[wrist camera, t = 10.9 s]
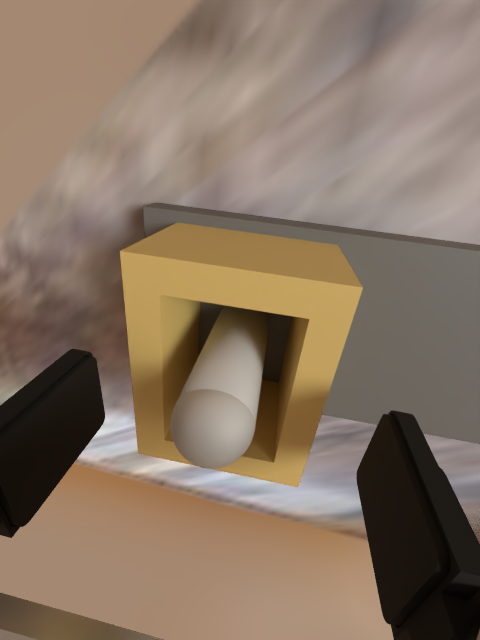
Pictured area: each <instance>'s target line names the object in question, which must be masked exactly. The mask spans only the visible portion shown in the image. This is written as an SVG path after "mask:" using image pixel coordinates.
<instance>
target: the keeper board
mask: <svg viewBox="0 0 480 640" xmlns="http://www.w3.org/2000/svg"><path fill="white" fill-rule="evenodd" d="M143 214H144V233H145V238H147V237H149V236H151V235H153V234H155V233H157V232H159V231H161V230H163V229H165V228H167V227H169V226H171V225H173V224H175V223H177V222H178V223H185V224H192V225H199V226H207V227H214V228H221V229H228V230H235V231H242V232H249V233H257V234H264V235H271V236H278V237H285V238H292V239H300V240H307V241H314V242H321V243H328V244H335V245H338V246H339V248H340V250H341V251H342V253H343V255H344V256H345V258H346V260H347V261H348V263H349V265H350V266H351V268H352V270H353V271H354V273H355V275H356V277H357V278H358V280H359V282H360V283H361V285H362V287H363V290H362V293H361V296H360V299H359V302H358V305H357V308H356V311H355V314H354V317H353V320H352V323H351V326H350V329H349V333H348V336H347V339H346V342H345V345H344V348H343V351H342V354H341V357H340V360H339V363H338V366H337V369H336V372H335V375H334V378H333V382H332V385H331V388H330V391H329V394H328V397H327V400H326V403H325V406H324V409H323V412H322V415H328V416H333V417H338V418H344V419H349V420H354V421H360V422H365V423H370V424H376V425H378V424H379V421H380V419H381V417H382V415H383V414H388V413H389V412H390V411H391V410H394V411H399V412H404V413H409V414H412V415H414V417H415V418H416V420H417V422H418V424H419V426H420V429H421V431H422V433H424V434H429V435H435V436H440V437H445V438H451V439H456V440H461V441H467V442H472V443H477V444H480V245H475V244H467V243H459V242H452V241H444V240H437V239H429V238H421V237H414V236H406V235H399V234H391V233H383V232H376V231H368V230H361V229H353V228H345V227H338V226H330V225H322V224H315V223H307V222H300V221H292V220H284V219H277V218H269V217H262V216H254V215H246V214H239V213H231V212H224V211H216V210H208V209H201V208H193V207H186V206H178V205H170V204H163V203H154V204H150V205H147V206H143ZM292 318H293V316H288V315H281V314H275V313H269V312H263V311H257V310H251V309H244V308H238V307H232V306H226V305H220V304H214V303H207V302H200V324H199V347H198V359H197V361H196V363H195V365H194V367H193V369H192V371H191V374H190V376H189V378H188V380H187V382H186V384H185V386H184V388H183V390H182V392H181V394H180V396H179V398H178V400H177V402H176V405H175V407H174V409H173V412H172V417H171V434H172V438H173V441H174V444H175V446H176V448H177V449H178V451H179V452H180V454H181V455H182V456H183V457H184V458H185V459H186V460H188V461H189V462H191V463H192V464H194V465H197V466H199V467H203V468H209V469H215V468H221V467H225V466H227V465H229V464H231V463H233V462H235V461H236V460H238V459H239V458H240V457H241V456H242V455H243V454H244V453H245V452H246V450H247V449H248V447H249V445H250V443H251V441H252V439H253V436H254V431H255V425H256V418H257V410H258V403H259V396H260V388H261V381H262V380H267V381H272V382H278V383H279V379H280V374H281V369H282V365H283V360H284V355H285V351H286V346H287V341H288V337H289V332H290V327H291V323H292Z"/></svg>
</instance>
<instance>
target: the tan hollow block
mask: <svg viewBox="0 0 480 640" xmlns="http://www.w3.org/2000/svg"><path fill="white" fill-rule="evenodd" d="M120 258H121V269H122V280H123V291H124V302H125V313H126V324H127V335H128V346H129V357H130V368H131V379H132V390H133V401H134V412H135V423H136V434H137V445H138V453H139V454H143V455H148V456H153V457H158V458H162V459H167V460H172V461H176V462H181V463H186V464H191V465H194V464H192V463H191V462H189V461H188V460H186V459H185V458H184V457H183V456H182V455H181V454H180V452H179V451H178V449H177V448H176V446H175V444H174V441H173V438H172V434H171V417H172V412H173V409H174V407H175V405H176V402H177V400H178V398H179V396H180V394H181V392H182V390H183V388H184V386H185V384H186V382H187V380H188V378H189V376H190V374H191V371H192V369H193V367H194V365H195V363H196V361H197V359H198V347H199V324H200V302H207V303H214V304H220V305H226V306H232V307H238V308H244V309H251V310H257V311H263V312H269V313H275V314H281V315H288V316H293V318H292V323H291V327H290V332H289V337H288V341H287V346H286V351H285V355H284V360H283V365H282V369H281V374H280V379H279V383H278V382H272V381H267V380H262V381H261V388H260V396H259V403H258V410H257V418H256V425H255V431H254V436H253V439H252V441H251V443H250V445H249V447H248V449H247V450H246V452H245V453H244V454H243V455H242V456H241V457H240V458H239V459H238V460H236V461H235V462H233V463H231V464H229V465H227V466H225V467H221V468H215V469H214V470H219V471H224V472H229V473H233V474H238V475H243V476H248V477H252V478H257V479H262V480H267V481H271V482H276V483H281V484H285V485H290V486H295V487H298V486H299V483H300V480H301V477H302V474H303V470H304V467H305V464H306V461H307V458H308V455H309V452H310V449H311V446H312V443H313V440H314V437H315V434H316V431H317V428H318V424H319V421H320V418H321V415H322V412H323V409H324V406H325V403H326V400H327V397H328V394H329V391H330V388H331V385H332V382H333V378H334V375H335V372H336V369H337V366H338V363H339V360H340V357H341V354H342V351H343V348H344V345H345V342H346V339H347V336H348V333H349V329H350V326H351V323H352V320H353V317H354V314H355V311H356V308H357V305H358V302H359V299H360V296H361V293H362V290H363V287H362V285H361V283H360V282H359V280H358V278H357V277H356V275H355V273H354V271H353V270H352V268H351V266H350V265H349V263H348V261H347V260H346V258H345V256H344V255H343V253H342V251H341V250H340V248H339V246H338V245H335V244H328V243H321V242H314V241H307V240H300V239H292V238H285V237H278V236H271V235H264V234H257V233H249V232H242V231H235V230H228V229H221V228H214V227H207V226H199V225H192V224H185V223H178V222H177V223H175V224H173V225H171V226H169V227H167V228H165V229H163V230H161V231H159V232H157V233H155V234H153V235H151V236H149V237H147V238H145V239H143V240H141V241H139V242H137V243H135V244H133V245H131V246H129V247H127V248H125V249H123V250H121V251H120ZM195 466H197V465H195Z"/></svg>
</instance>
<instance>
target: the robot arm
mask: <svg viewBox="0 0 480 640" xmlns="http://www.w3.org/2000/svg"><path fill="white" fill-rule="evenodd" d="M104 419H105V411H104V405H103V399H102V392H101V386H100V380H99V373H98V367H97V361H96V359H95V358H94V357H93V355H92V354H91V352H87V351H82V350H77V349H71V350H69V351H68V352H66V353H65V354H64V355H63V356H61V357H60V358H59V359H58V360H57V361H55V362H54V363H53V364H52V365H50V366H49V367H48V368H47V369H45V370H44V371H43V372H42V373H40V374H39V375H38V376H37V377H35V378H34V379H33V380H32V381H30V382H29V383H28V384H27V385H25V386H24V387H23V388H22V389H20V390H19V391H18V392H17V393H15V394H14V395H13V396H12V397H10V398H9V399H8V400H7V401H5V402H4V403H3V404H2V405H0V535H2V536H6V537H10V538H12V537H13V536H14V534H15V533H16V532H17V530H18V529H19V528H20V527H23V526H25V525H26V524H27V523H28V522H29V521H30V520H31V519H32V517H33V516H34V515H35V513H36V512H37V511H38V510H39V508H40V507H41V505H42V504H43V503H44V502H45V500H46V499H47V498H48V496H49V495H50V494H51V492H52V491H53V490H54V488H55V487H56V486H57V484H58V483H59V482H60V480H61V479H62V478H63V476H64V475H65V474H66V472H67V471H68V470H69V468H70V467H71V466H72V464H73V463H74V462H75V460H76V459H77V458H78V457H79V455H80V454H81V453H82V451H83V450H84V449H85V447H86V446H87V445H88V443H89V442H90V441H91V439H92V438H93V437H94V435H95V434H96V433H97V431H98V430H99V429H100V427H101V426H102V424H103V422H104ZM357 485H358V490H359V495H360V500H361V506H362V511H363V516H364V521H365V526H366V531H367V537H368V542H369V547H370V552H371V557H372V562H373V568H374V573H375V578H376V583H377V588H378V594H379V599H380V604H381V609H382V613H383V617H384V619H385V621H386V622H387V623H388V624H391V628H392V632H393V637H394V640H480V544H479V542H478V540H477V538H476V536H475V534H474V532H473V530H472V528H471V526H470V524H469V522H468V520H467V517H466V515H465V513H464V511H463V509H462V507H461V505H460V503H459V501H458V499H457V497H456V495H455V493H454V491H453V489H452V487H451V485H450V483H449V481H448V478H447V476H446V475H445V473H444V471H443V470H442V469H441V468H440V467H439V466H438V464H437V462H436V460H435V458H434V456H433V454H432V452H431V450H430V447H429V445H428V443H427V441H426V439H425V437H424V435H423V433H422V431H421V429H420V426H419V424H418V422H417V420H416V418H415V417H414V415H412V414H409V413H404V412H399V411H394V410H391V411H390V412H389V413H388V414H383V415H382V417H381V419H380V421H379V424H378V426H377V428H376V430H375V432H374V434H373V437H372V439H371V441H370V443H369V445H368V448H367V450H366V452H365V454H364V456H363V459H362V461H361V463H360V465H359V467H358V470H357ZM0 640H163V639H160V638H156V637H153V636H149V635H146V634H143V633H139V632H136V631H132V630H129V629H125V628H122V627H118V626H115V625H111V624H108V623H105V622H101V621H98V620H94V619H91V618H87V617H84V616H80V615H77V614H73V613H70V612H66V611H62V610H59V609H56V608H52V607H49V606H45V605H42V604H38V603H35V602H31V601H28V600H24V599H20V598H17V597H14V596H10V595H6V594H3V593H0Z"/></svg>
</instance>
